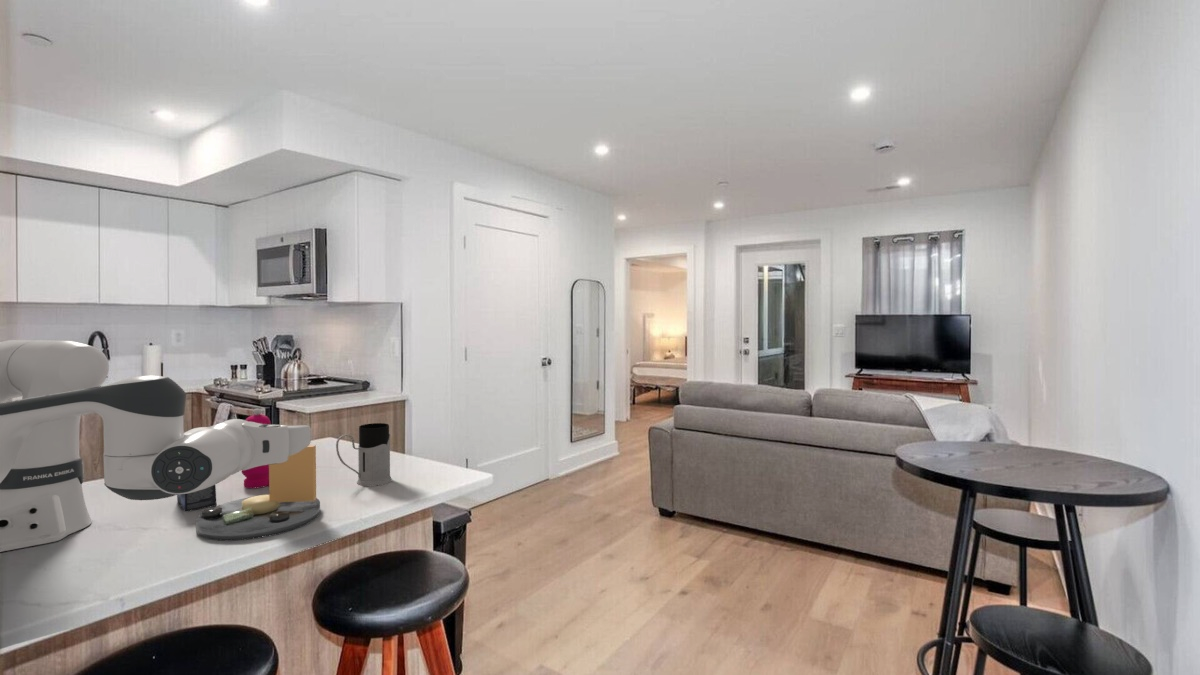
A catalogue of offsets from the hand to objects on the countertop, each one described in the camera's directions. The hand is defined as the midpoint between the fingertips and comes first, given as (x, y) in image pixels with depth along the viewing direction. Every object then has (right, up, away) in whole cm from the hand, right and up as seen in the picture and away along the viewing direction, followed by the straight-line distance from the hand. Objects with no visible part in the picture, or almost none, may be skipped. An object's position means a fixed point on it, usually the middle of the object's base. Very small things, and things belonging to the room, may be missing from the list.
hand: (265, 430), depth 110 cm
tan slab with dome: (-4, -19, +13) cm, 23 cm away
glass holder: (+3, -21, +39) cm, 44 cm away
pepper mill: (-24, -20, +36) cm, 48 cm away
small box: (-30, -21, +22) cm, 42 cm away
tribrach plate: (-8, -21, +12) cm, 26 cm away
